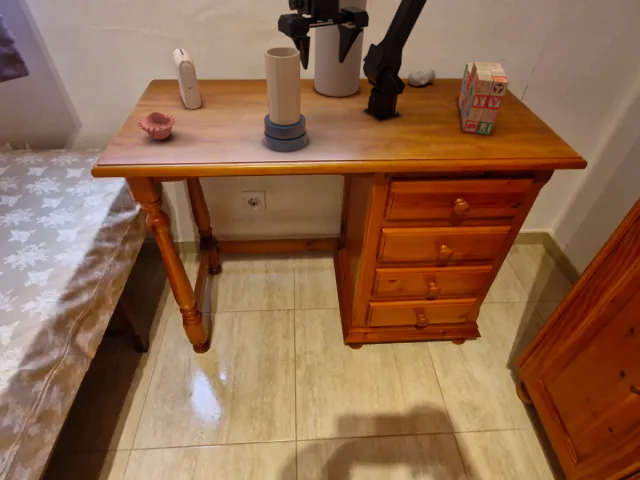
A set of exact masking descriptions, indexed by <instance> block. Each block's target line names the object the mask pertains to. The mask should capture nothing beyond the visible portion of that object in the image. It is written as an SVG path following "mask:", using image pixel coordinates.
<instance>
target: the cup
mask: <svg viewBox="0 0 640 480" xmlns="http://www.w3.org/2000/svg"><path fill="white" fill-rule="evenodd" d="M263 54H264V67H265V68H264V69H265V82H266V95H267V96H266V97H267V110H268V111H267V112H268V114H269V119H270V121H271V122H273V123H275V124H280V125H289V124H294V123H296V122H298V121H299V120H300V118H301V117H300V115H301V114H302V113H301V111H302V110H301V109H302V108H301V106H302V105H301V101H302V100H301V95H302V94H301V60H300V51H299V50H297V49H296V47H291V46H290V47H288V46H274V47H269V48H267V49H266V50H265V51H264V53H263Z"/></svg>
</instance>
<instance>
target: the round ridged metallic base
mask: <svg viewBox="0 0 640 480" xmlns="http://www.w3.org/2000/svg"><path fill="white" fill-rule="evenodd" d="M300 117H301V118H300V120H299V121H298V122H296V123H294V124H289V125H280V124H275V123H273V122H271V121H270V119H269V113H268V114H266V115H265V116H264V118H263V127H264V129H263V136H264V138H263V139H264V144H265V146H266V147H267V148H268V149H270V150H273V151H277V152H281V153H282V152H283V153H284V152H295V151H298V150H300V149H303V148H304V147H305V146H306V145H307V132H308V131H307V128H306V127H307V125H306V124H307V122H306V121H307V120H306V117H305V115H304V114H302V113H301V115H300Z"/></svg>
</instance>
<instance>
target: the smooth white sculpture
mask: <svg viewBox="0 0 640 480" xmlns="http://www.w3.org/2000/svg"><path fill="white" fill-rule="evenodd" d="M436 78H437V74H436V70H435V69H433V68H428V70H426V71H422V70H417V71H416V70H413V71H411V72H409V74H407V81H408V83H409V84H410V85H411V86H413V87H419V86H424V85H426V84H432V83H434V81H435V80H436Z"/></svg>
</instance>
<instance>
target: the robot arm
mask: <svg viewBox="0 0 640 480" xmlns="http://www.w3.org/2000/svg"><path fill="white" fill-rule="evenodd" d="M427 1H428V0H401V1H400V2H399V5H398V6H397V7H398V8H397V9H396V11H395V13H394V16H393V17H392V20H391V22H390V24H389V26H388V28H387V30H386V33H385V34H384V37H383V39H382V40H381V41H379V42H378V43H377V44H374V43H371V44H370V45H369V47H368V50H367V53H366V55H365V56H364V58H363V59H362V61H363V65H362V71H363V75H364V76H365V78H366V79H367V82H368V84H369V85H371V86H372V88H370V94H369V96H368V101H367V107H366V108H364V112H365V113H367V114H368V115H370V116H372V118H375V119H377V120H378V121H384V120H387V119H390V118H391V119H392V118H394V117H398V116H400V112H398V110H396V108H397V103H398V96H399V95H402V94H403V92H404V91H405V88H406V87H407V85H406V83H405V82H404V81H403V79H402V78H401V77H400V76H399V73H400V70H401V68H402V63H403V50H404V47H405V45H406V43H407V41H408V40H409V38H410V36H411V33H412V31H413V29H414V28H415V25H416V23H417V21H418V20H419V17H420V15H421V13H422V11H423V9H424V7H425V5H426V4H427ZM287 2H288V8H289V10H290V11H291V12H292V11H296V12H294V13H293V12H292V13H285V14H280V15H279V18H278V20H277V31H278V32H280V33H283V34H284V35H285V36H286V37H288V38H289V39H290V40H291V41H292V43H293V44H294V46H295V49H297V50H299V51H300V64H301V66H302V69H303V70H305V71H307V70H308V68H309V67H308V66H309V62H310V61H309V60H310V50H311V49H310V48H311V36H309V35H308V34H309V32H310V30H311V29H313V28H314V29H315V28H316V27H323V26H331V25H337V26H338V30H339V33H340V39H339V62H340V63H343V62H344V60H345V58H346V56H347V54H348V52H349V50H350V48H351V46H352V45H353V43H354V41H355V40H356V38H357V37H358V35H359V33H360V32H363V27H364V28H368V27H369V23H370V15H369V13H368V11H367V10H366V11H365V10H363V9H360V8H357V7H347V8H341V9H340V0H288V1H287ZM339 10H340V11H339ZM303 15H305V16H303ZM306 16H308V17H306ZM328 20H330V21H328ZM331 20H332V21H331ZM317 21H322V22H317Z"/></svg>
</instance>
